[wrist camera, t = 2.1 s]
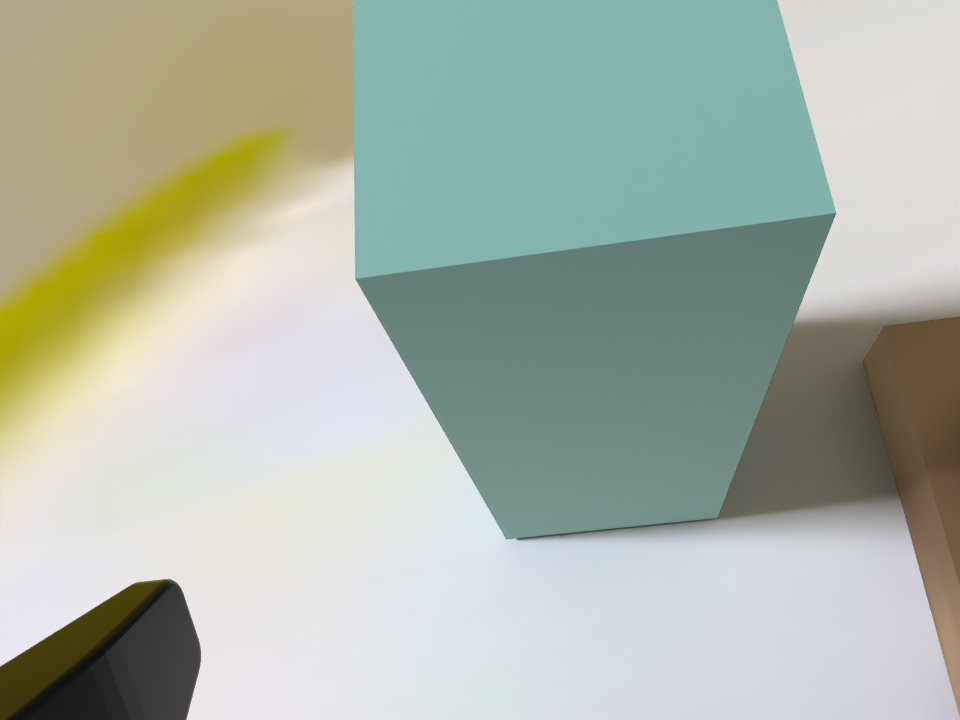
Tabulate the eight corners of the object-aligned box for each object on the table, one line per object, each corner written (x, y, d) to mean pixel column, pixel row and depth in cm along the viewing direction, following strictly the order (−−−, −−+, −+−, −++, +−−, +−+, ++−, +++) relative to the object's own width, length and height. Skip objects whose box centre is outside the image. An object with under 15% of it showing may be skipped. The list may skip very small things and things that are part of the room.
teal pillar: (717, 518, 21) (835, 213, 9) (506, 539, 21) (356, 278, 9) (682, 327, 23) (742, -125, 11) (491, 351, 23) (352, -54, 11)
